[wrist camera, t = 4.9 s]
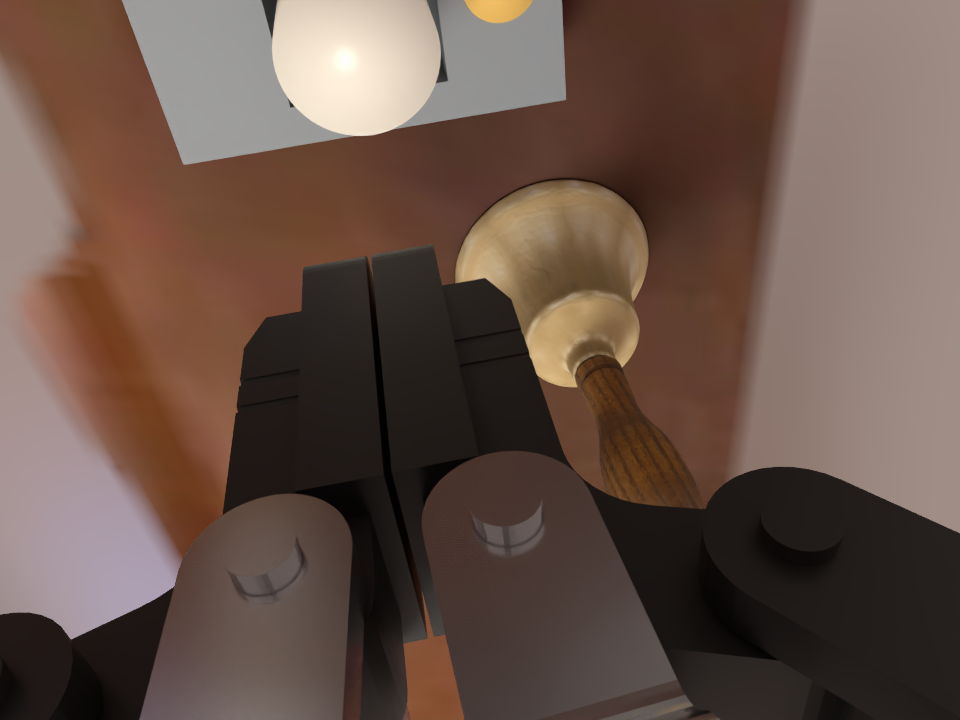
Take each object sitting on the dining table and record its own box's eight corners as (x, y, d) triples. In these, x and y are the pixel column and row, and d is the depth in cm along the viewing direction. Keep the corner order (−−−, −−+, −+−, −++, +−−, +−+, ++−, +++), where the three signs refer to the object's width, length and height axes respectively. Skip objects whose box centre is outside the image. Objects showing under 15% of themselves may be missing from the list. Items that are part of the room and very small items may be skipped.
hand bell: (489, 158, 31) (606, 460, 19) (679, 201, 33) (891, 493, 21) (431, 330, 35) (493, 663, 23) (601, 357, 38) (738, 669, 26)
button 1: (259, -60, 21) (250, -19, 18) (411, -84, 21) (427, -47, 18) (298, 89, 24) (295, 147, 21) (433, 67, 24) (451, 121, 21)
